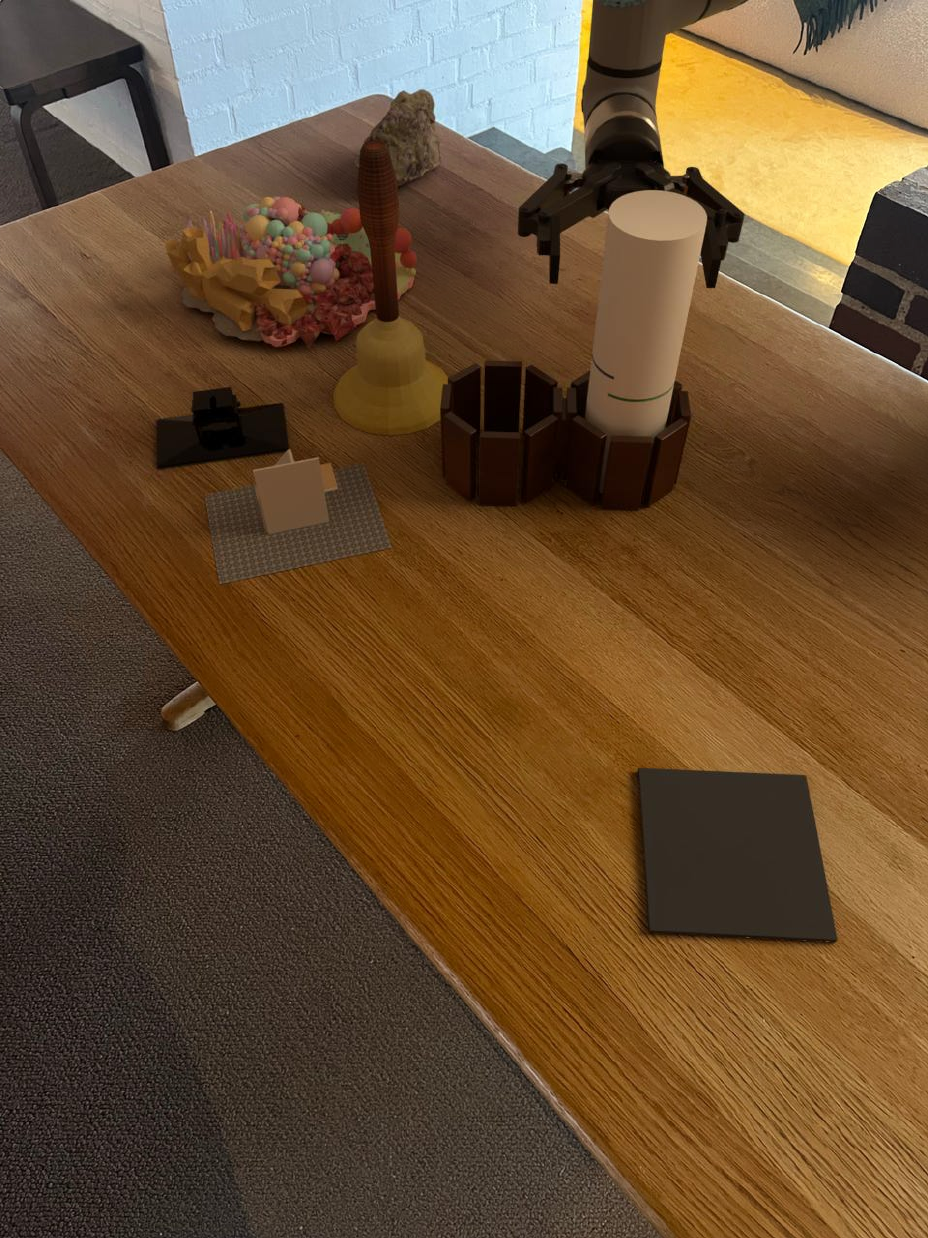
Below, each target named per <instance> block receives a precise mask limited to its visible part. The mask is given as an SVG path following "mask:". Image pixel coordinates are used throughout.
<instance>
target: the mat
mask: <svg viewBox="0 0 928 1238" xmlns="http://www.w3.org/2000/svg"><path fill="white" fill-rule="evenodd" d="M637 780H638V781H637V782H639V784H638V796H639V797H640V799H639V811H640V812H641V814H640V827H641V826H642V829H641V842H643V844H642V855H643V854H644V859H643V871H644V873H643V874H644V888H645V901H646V919H647V932H648V931H649V932H648V933H649V934H658V933H664V934H663V935H678V934H682V935H681V936H698V935H699V937H700V936H701V935H706V936H705V937H718V938H737V937H741V938H740V939H747V938H746V937H750V938H749V939H757V938H761V940H763V939H762V938H768V939H767V940H777V939H784V940H783V941H796V940H799V942H804V941H803V940H806V941H805V942H816V941H822V942H821V943H826V942H825V941H829V942H828V943H837V941H838V940H839V939H838V933H837V929H836V924H835V918H834V913H833V909H832V908H833V907H832V903H831V898H830V892H829V887H828V882H827V876H826V871H825V867H824V861H823V856H822V850H821V845H820V841H819V835H818V830H817V825H816V819H815V814H814V809H813V803H812V799H811V793H810V788H809V783H808V777H807V775H806V774H794V773H793V774H792V773H772V772H771V773H769V772H767V773H766V772H745V771H744V772H743V771H721V770H701V769H700V770H698V769H678V768H677V769H676V768H674V769H673V768H657V767H655V768H654V767H653V768H652V767H638V769H637ZM639 797H638V798H639ZM640 809H641V810H640ZM726 936H727V937H726ZM701 937H702V936H701Z"/></svg>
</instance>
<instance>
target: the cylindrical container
mask: <svg viewBox="0 0 928 1238" xmlns="http://www.w3.org/2000/svg"><path fill="white" fill-rule="evenodd" d="M607 214H608V215H607V223H606V231H605V239H604V240H605V241H604V249H603V258H602V265H601V266H602V267H601V276H600V282H599V291H598V300H597V309H596V317H595V327H594V336H593V342H592V343H593V344H592V354H591V362H590V369H589V371H590V378H589V386H588V395H587V404H586V412H585V420H586V421H588V422H589V423H591V424H592V425H594V426H595V427H597V428H598V429H600V430H602V431H603V432H605V433H606V434H607V438H606V445H605V452H604V459H603V466H602V473H601V480H600V487H599V494H602V493H603V486H604V479H605V472H606V465H607V459H608V452H609V445H610V438H611V435H616V436H648V437H651V438H652V445H651V450H650V455H649V461H648V466H647V471H646V476H645V482H644V487H643V492H644V491H645V485H646V480H647V475H648V470H649V465H650V459H651V454H652V449H653V444H654V439H655V435H657V434H658V433H660V432H661V431H663V430H664V429H665V427H666V422H667V417H668V412H669V407H670V402H671V396H672V391H673V386H674V381H676V376H677V372H678V371H677V370H678V366H679V361H680V356H681V353H682V352H681V351H682V347H683V342H684V337H685V331H686V327H687V321H688V316H689V313H690V307H691V302H692V298H693V291H694V287H695V282H696V277H697V272H698V268H699V262H700V259H701V254H700V253H701V248H702V243H703V238H704V233H705V228H706V223H707V215H706V212H705V210H704V209H703V207H702V206H701V205H699V204H698V203H697V202H696V201H694V200H692V199H691V198H688V197H686V196H684V195H681V194H677V193H673V192H668V191H659V190H645V191H637V192H633V193H629V194H626V195H624V196H621V197H620V198H618V199H616V200H615V201H614V202H613V203H612V205H611V206H610V208H609V210H608V213H607Z"/></svg>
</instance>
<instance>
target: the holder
mask: <svg viewBox="0 0 928 1238" xmlns="http://www.w3.org/2000/svg"><path fill="white" fill-rule="evenodd" d="M524 371H525V372H524V389H523V390H524V391H523V409H522V427H521V432H520V421H521V420H520V418H521V415H520V414H521V400H522V399H521V398H522V397H521V396H522V379H523V377H522V376H523V361H521V360H489V359H488V360H484V374H483V377H484V379H483V380H484V384H483V385H484V386H483V387H484V388H483V430H482V429H481V428H482V427H481V420H482V418H481V417H482V415H481V412H482V411H481V409H482V366H481V365H480V364H478V363H477V362H474V363H472V364H471V365H469V366H467V367H465V368H463V369H462V370H460V371H458V372H456V373H455V374H452V375H451V376H449V377H448V384H443V386H442V396H441V405H440V447H441V449H440V450H441V476H442V477H444V478H445V483H446V485H448V486H449V487H450V488H451V489H453V490H454V491H455V492H457V493H458V494H459V495H460V496H462V497H463V498H465V500H467V501H468V502H469V503H471V502H473V501H474V500H476V499H477V462H478V461H477V459H478V458H477V453H478V452H477V449H478V447H477V445H478V444H477V443H478V439H477V437H479V479H478V481H479V483H478V484H479V487H478V491H479V492H478V493H479V494H478V505H479V506H496V507H517V506H518V491H519V490H518V489H519V473H520V471H519V469H520V451H521V436H522V438H523V439H522V440H523V442H522V459H521V460H522V462H521V478H520V479H521V480H520V481H521V482H520V497H519V499H520V501H521V502H523V503H524V504H526V505H527V504H529V503H530V502H532V501H533V500H535V499H536V498H537V497H539V496H540V495H542V494H544V493H545V492H546V491H548V490H550V489H551V488H553V485H554V481H557V480H558V479H557V478H558V472H560V481H565V485H564V488H566V489H567V490H569V491H570V492H572V493H573V494H574V495H575V496H577V497H578V498H580V499H581V500H582V501H584V502H585V503H587V504H588V505H590V506H591V507H592V506H594V505H595V504H597V503H598V501H599V494H600V492H599V487H600V480H601V473H602V466H603V459H604V452H605V445H606V438H607V434H606V433H605V432H603V431H602V430H600V429H598V428H597V427H595V426H594V425H592V424H591V423H589V422H588V421H586V420H585V412H586V404H587V395H588V386H589V378H590V370H588V371H587V372H585V373H583V374H582V375H580V376H578V377H577V378H575V379H573V380H572V381H571V382H570V387H566V392H565V393H566V395H565V398H564V397H563V387H560V386H559V387H558V384H559V381H558V380H557V379H555V378H553V377H552V376H551V375H549V374H547V373H546V372H544V371H543V370H541V369H540V368H538V367H537V366H535V365H534V364H529V365H528V366H525V368H524ZM691 420H692V410H691V403H690V397H689V392H688V390H683V384H682V383H680V382H679V381H677V380H675V381H674V386H673V391H672V396H671V402H670V407H669V412H668V417H667V422H666V427H665V429H664V430H663V431H661V432H660V433H658V434H657V435H655V439H654V444H653V449H652V454H651V459H650V465H649V470H648V475H647V480H646V485H645V491H643V487H644V482H645V476H646V471H647V466H648V461H649V455H650V450H651V445H652V438H651V437H648V436H616V435H611V438H610V445H609V452H608V459H607V465H606V472H605V479H604V486H603V493H601V501H600V509H601V510H614V511H640V507H641V504H642V505H643V506H645V507H646V508H647V509H649V508H650V507H652V506H653V505H654V504H656V503H658V502H659V501H660V500H661V499H663V498H664V497H665V496H667V495H668V494H669V493H671V492H672V491H673V490H674V486H675V485H676V484H677V481H678V476H679V472H680V468H681V464H682V458H683V455H684V451H685V446H686V441H687V437H688V434H689V433H688V432H689V429H690V424H691ZM481 430H482V431H481Z"/></svg>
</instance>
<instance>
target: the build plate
mask: <svg viewBox="0 0 928 1238" xmlns="http://www.w3.org/2000/svg"><path fill="white" fill-rule="evenodd" d="M241 405H242V404H241V401H240V400H238V396H237V394H234V393H233V387H232V386H227V387H218V388H209V389H203V390H195V391H192V400H191V407H190V411H191V414H185V415H177V416H170V417H164V418H163V417H162V418H157V419H156V467H157V469H158V470H161V469H162V470H163V469H169V468H177V467H183V466H192V465H196V464H197V465H198V464H207V463H212V462H213V463H214V462H220V461H226V460H234V459H235V460H236V459H242V458H249V457H255V456H263V455H271V454H279V453H285V452H286V451H287V450H288V449H290V443H289V435H288V428H287V421H286V420H287V419H286V414H285V413H286V412H285V405H284V403H283V402H277V403H267V404H261V405H255V406H246V407H241Z"/></svg>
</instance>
